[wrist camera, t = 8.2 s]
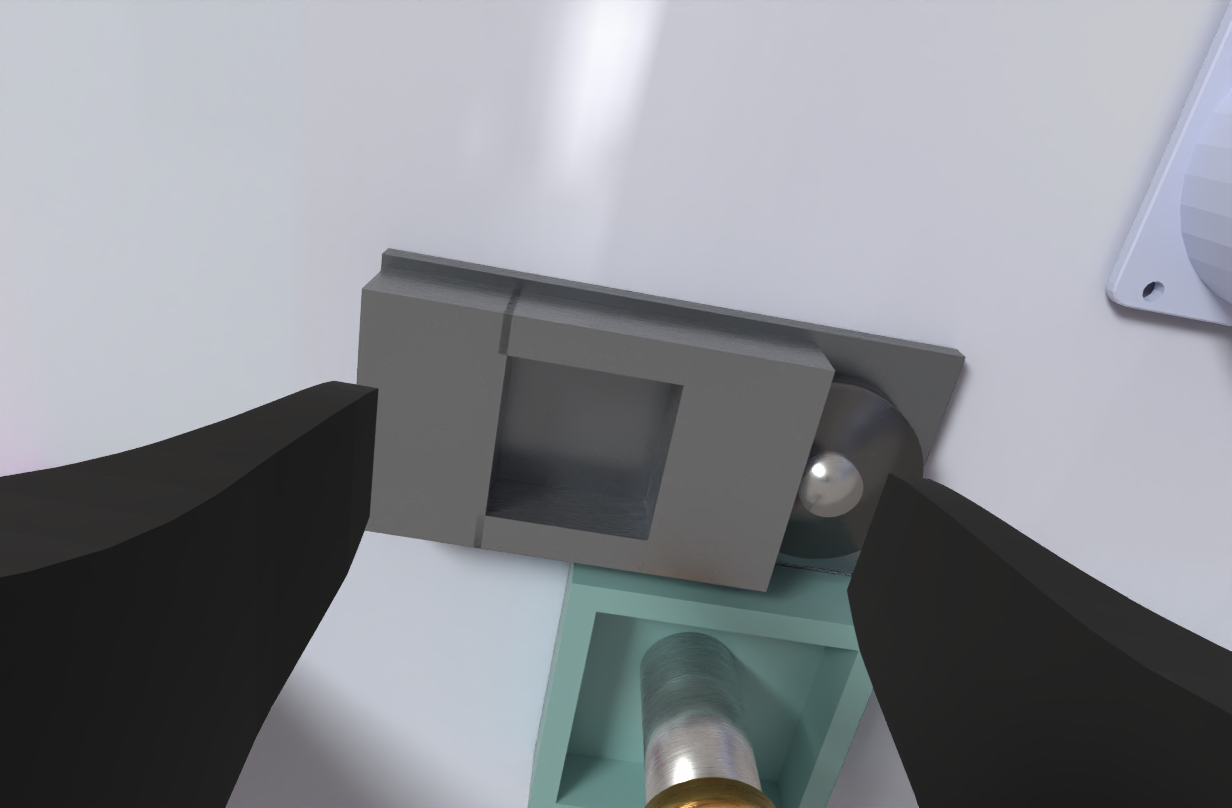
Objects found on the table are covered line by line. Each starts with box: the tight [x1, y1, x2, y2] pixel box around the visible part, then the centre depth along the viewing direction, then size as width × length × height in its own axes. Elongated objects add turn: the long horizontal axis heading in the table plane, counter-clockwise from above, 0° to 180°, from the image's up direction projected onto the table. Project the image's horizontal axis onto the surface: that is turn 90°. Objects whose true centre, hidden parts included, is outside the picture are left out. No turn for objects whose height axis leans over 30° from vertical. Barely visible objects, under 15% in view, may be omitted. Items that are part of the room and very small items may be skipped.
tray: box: [528, 562, 873, 808], centre depth 25 cm, size 9×9×2 cm
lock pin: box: [639, 632, 776, 808], centre depth 22 cm, size 4×4×7 cm
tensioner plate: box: [357, 248, 965, 592], centre depth 21 cm, size 15×7×3 cm, turn 80°
